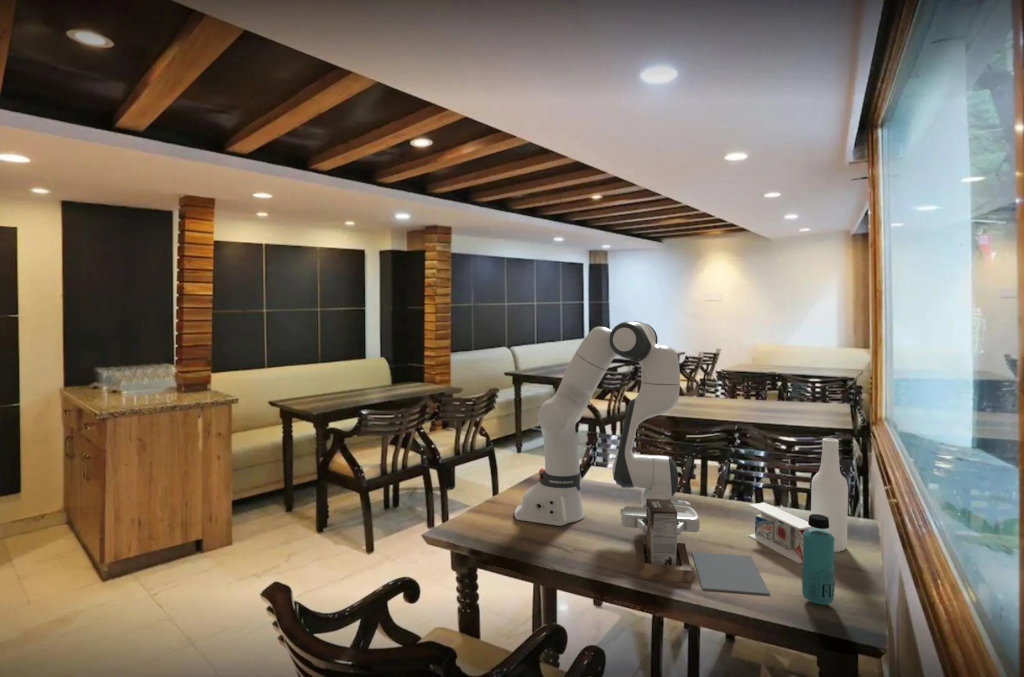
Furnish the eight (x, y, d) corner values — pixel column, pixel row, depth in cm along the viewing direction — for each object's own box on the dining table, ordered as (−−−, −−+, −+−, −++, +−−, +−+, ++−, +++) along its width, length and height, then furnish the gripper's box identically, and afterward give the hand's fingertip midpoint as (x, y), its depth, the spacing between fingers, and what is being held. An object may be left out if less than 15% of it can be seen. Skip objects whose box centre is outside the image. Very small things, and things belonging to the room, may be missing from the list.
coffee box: (645, 557, 151) (645, 498, 150) (670, 557, 150) (670, 498, 149) (651, 573, 142) (651, 510, 141) (677, 574, 141) (677, 510, 140)
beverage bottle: (822, 614, 122) (824, 524, 121) (794, 600, 128) (796, 514, 127) (840, 606, 125) (843, 518, 124) (812, 593, 131) (814, 509, 130)
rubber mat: (702, 589, 133) (702, 587, 133) (691, 553, 153) (691, 551, 153) (769, 595, 131) (769, 593, 130) (750, 557, 150) (750, 555, 150)
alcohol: (812, 550, 154) (814, 441, 152) (808, 537, 162) (810, 434, 160) (849, 555, 151) (852, 444, 149) (843, 542, 159) (846, 437, 157)
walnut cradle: (636, 578, 139) (636, 566, 139) (635, 550, 155) (635, 539, 155) (691, 582, 137) (691, 570, 137) (684, 554, 152) (684, 543, 152)
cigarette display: (747, 536, 164) (748, 504, 164) (763, 533, 166) (763, 502, 165) (803, 566, 145) (803, 530, 145) (819, 562, 147) (820, 527, 146)
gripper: (620, 497, 160) (620, 515, 146) (695, 502, 156) (702, 521, 142) (620, 519, 160) (619, 539, 147) (695, 524, 156) (702, 545, 143)
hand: (661, 530), depth 145 cm, fingers closed on coffee box, 7 cm apart
